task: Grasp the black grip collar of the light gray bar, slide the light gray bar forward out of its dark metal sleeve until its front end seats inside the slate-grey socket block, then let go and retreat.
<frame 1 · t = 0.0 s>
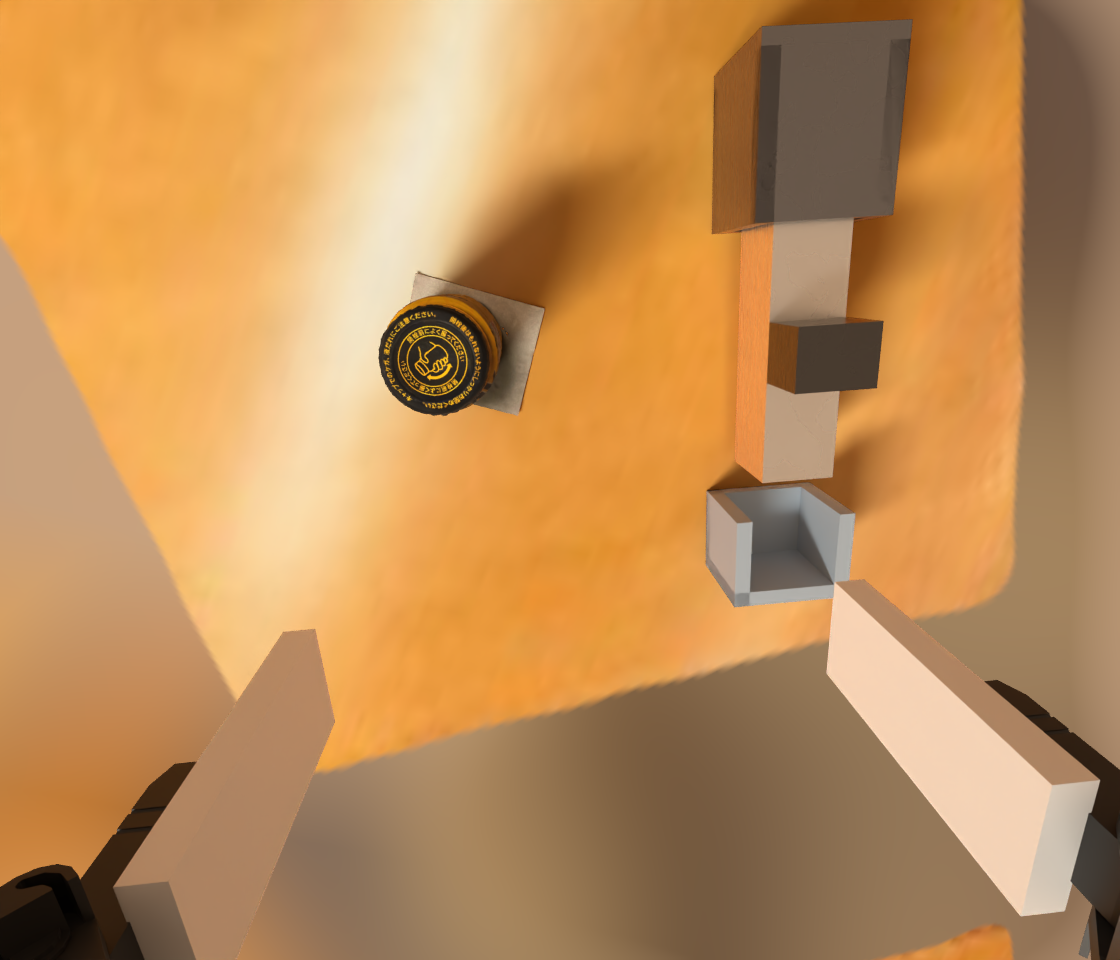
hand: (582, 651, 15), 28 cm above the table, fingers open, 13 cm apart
yellow drink bottle: (469, 346, 40), on the table
socket: (756, 524, 46), on the table
sleeve: (772, 161, 38), on the table
light gray bar: (804, 296, 35), point 6 cm above the table, slide at 0.0 cm
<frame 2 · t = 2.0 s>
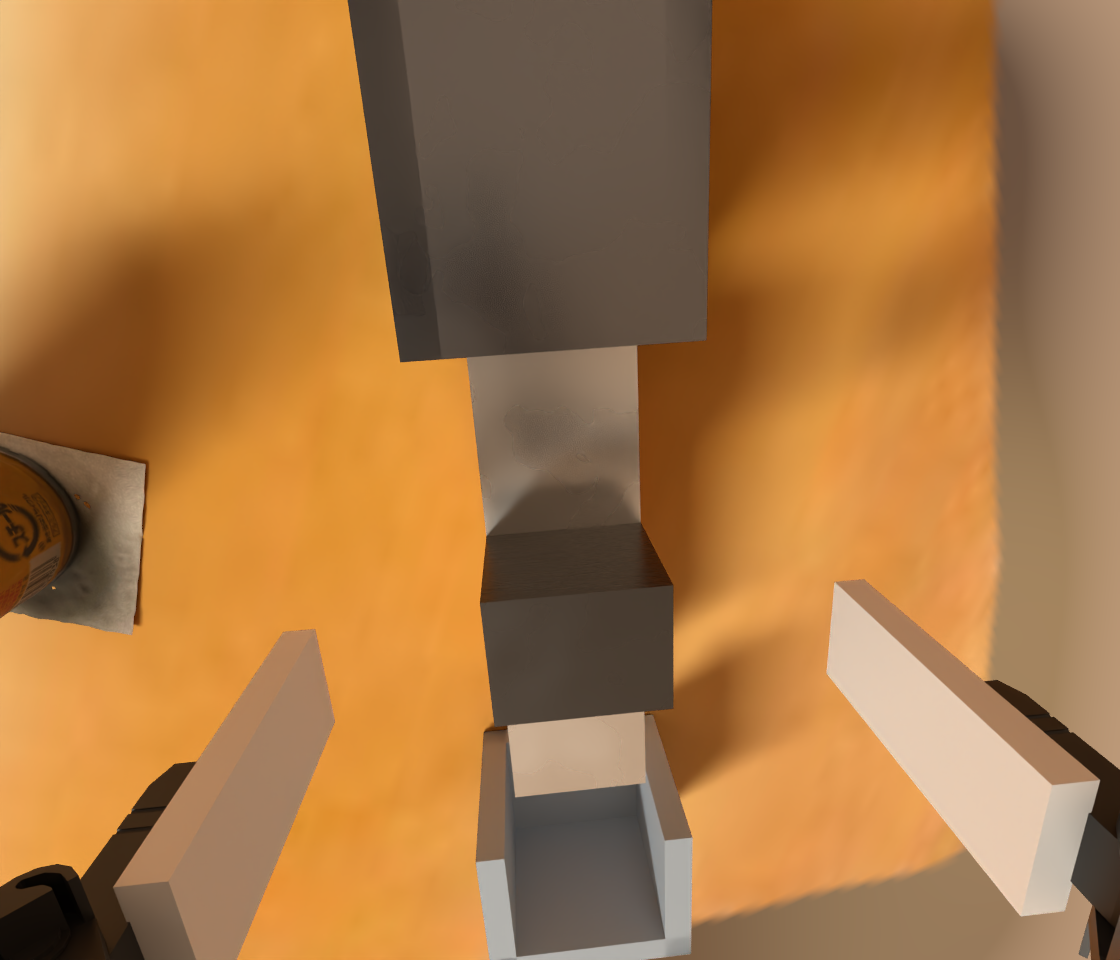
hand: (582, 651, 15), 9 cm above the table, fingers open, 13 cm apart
yellow drink bottle: (26, 524, 23), on the table
socket: (572, 775, 28), on the table
sleeve: (533, 205, 20), on the table
light gray bar: (559, 481, 18), point 6 cm above the table, slide at 0.0 cm
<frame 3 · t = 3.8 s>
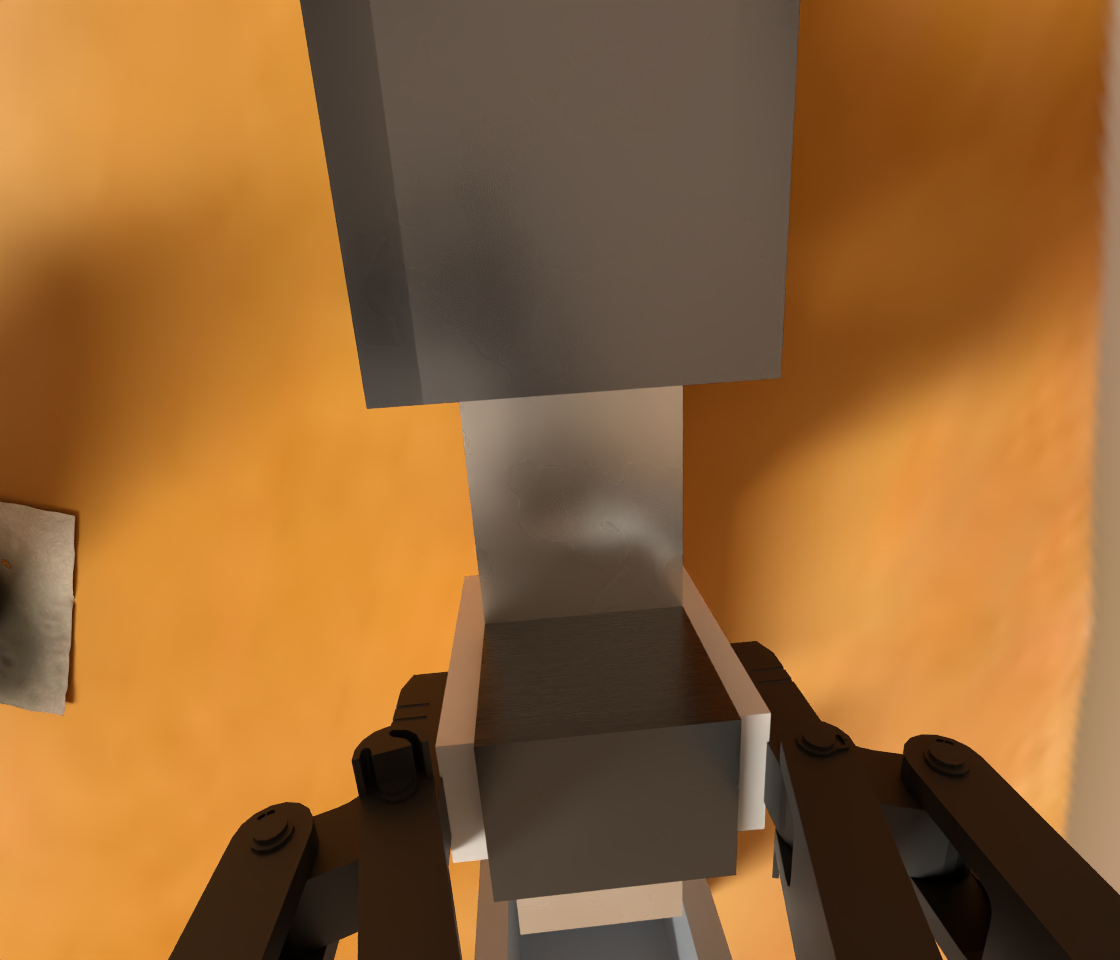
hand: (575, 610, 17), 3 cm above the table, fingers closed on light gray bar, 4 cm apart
socket: (586, 868, 24), on the table
sleeve: (543, 203, 17), on the table
light gray bar: (578, 553, 14), point 6 cm above the table, slide at 0.0 cm, touching gripper
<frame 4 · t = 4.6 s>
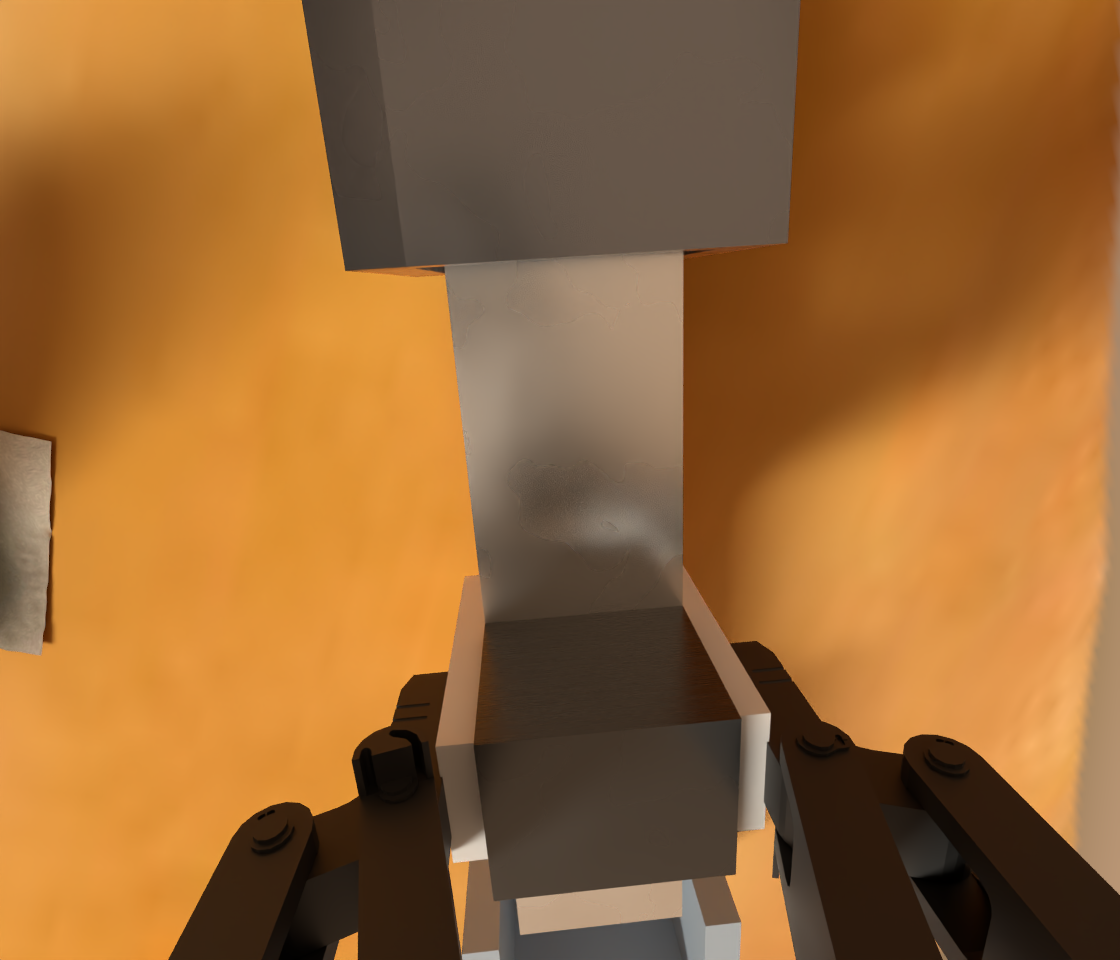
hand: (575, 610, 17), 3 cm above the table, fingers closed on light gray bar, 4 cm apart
socket: (583, 825, 24), on the table
sleeve: (538, 108, 16), on the table
light gray bar: (579, 552, 14), point 6 cm above the table, slide at 2.3 cm, touching gripper
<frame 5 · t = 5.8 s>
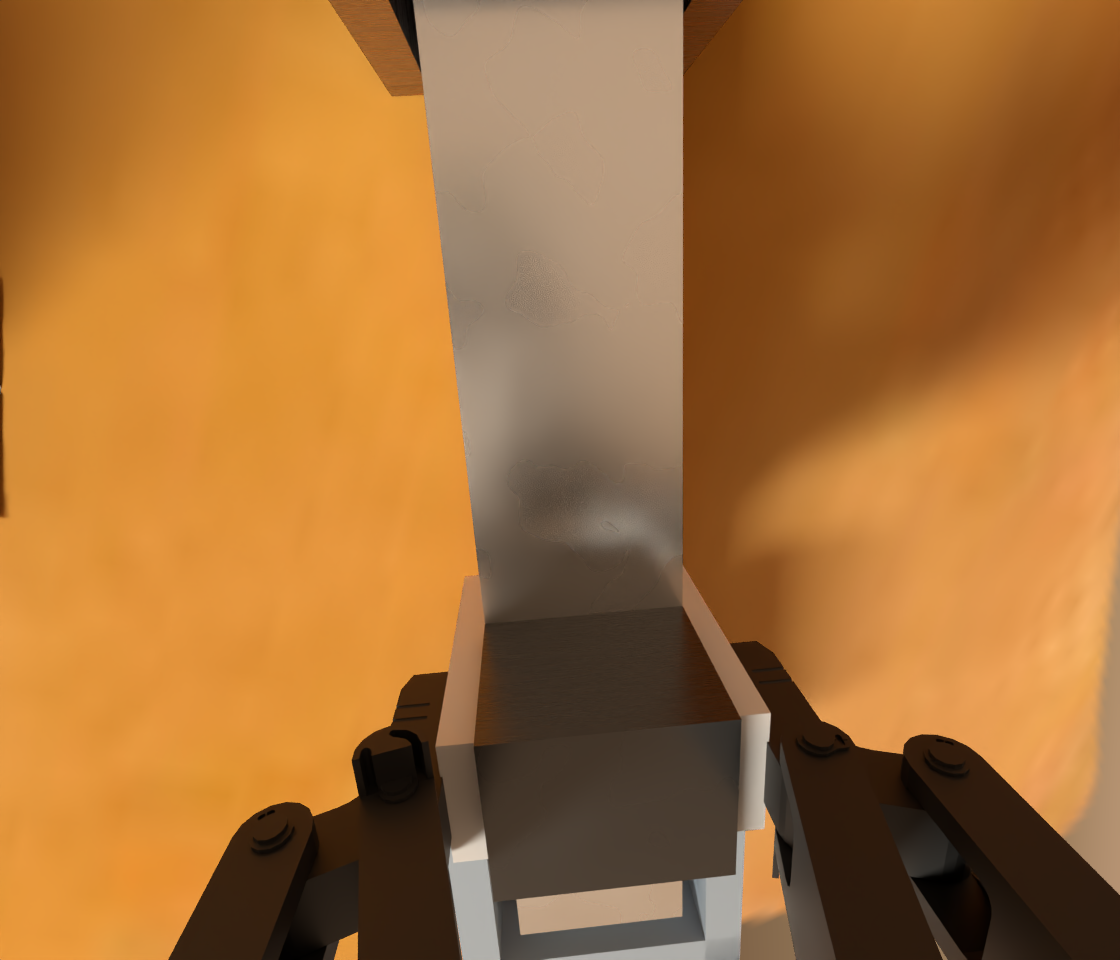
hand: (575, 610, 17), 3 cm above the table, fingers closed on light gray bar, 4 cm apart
socket: (577, 731, 22), on the table
light gray bar: (578, 553, 14), point 6 cm above the table, slide at 6.8 cm, touching gripper
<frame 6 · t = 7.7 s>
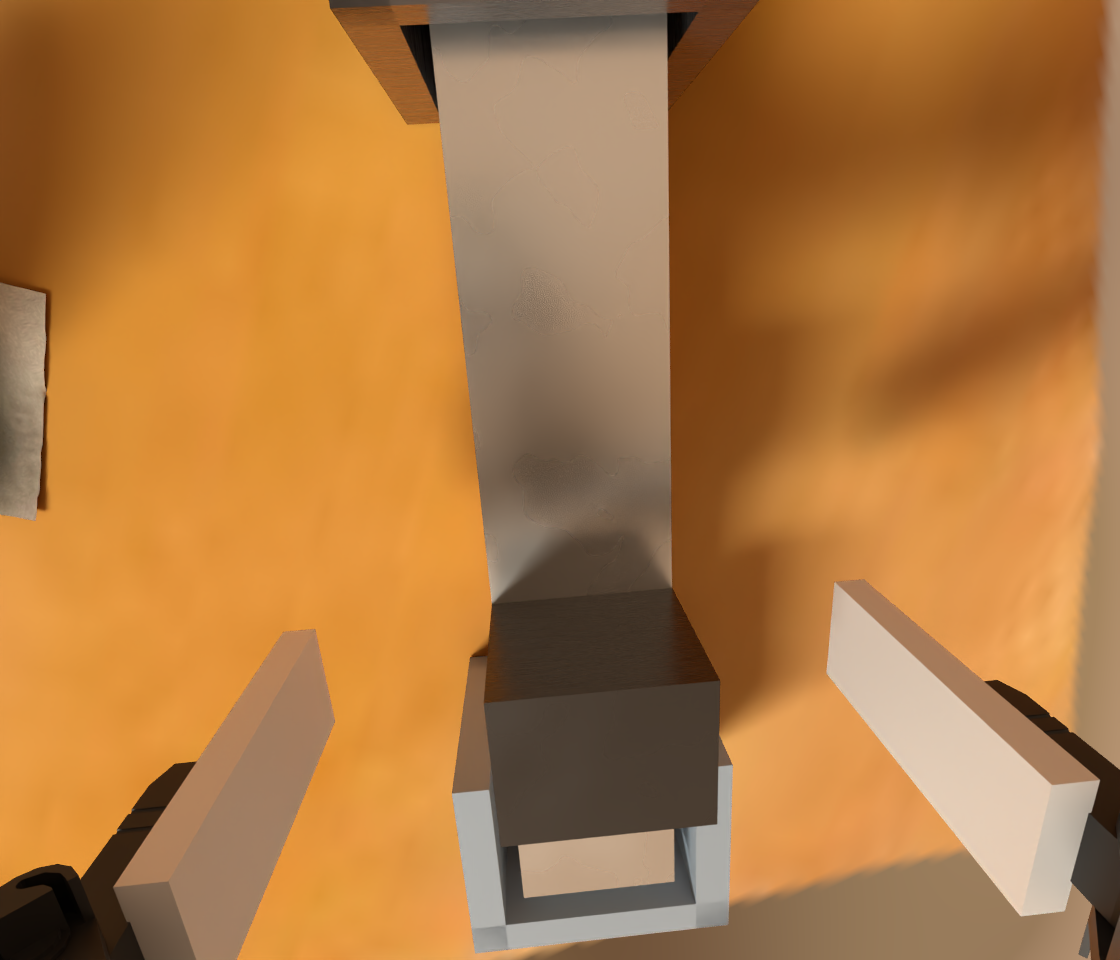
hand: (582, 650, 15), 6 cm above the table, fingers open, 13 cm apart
socket: (577, 715, 24), on the table
light gray bar: (577, 540, 15), point 6 cm above the table, slide at 6.8 cm
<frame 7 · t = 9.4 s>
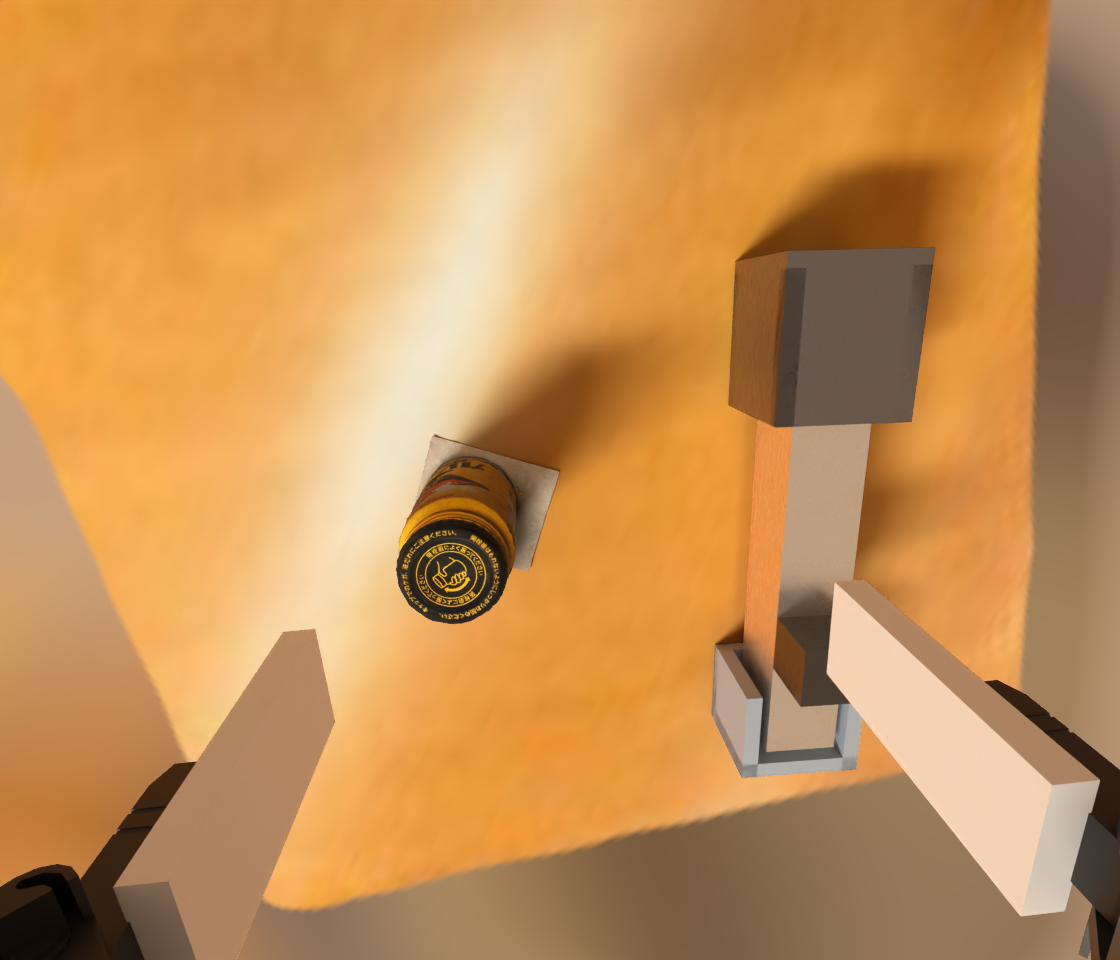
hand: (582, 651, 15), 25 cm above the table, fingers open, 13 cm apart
yellow drink bottle: (482, 504, 40), on the table
socket: (764, 676, 45), on the table
sleeve: (789, 340, 38), on the table
light gray bar: (810, 592, 37), point 6 cm above the table, slide at 6.8 cm
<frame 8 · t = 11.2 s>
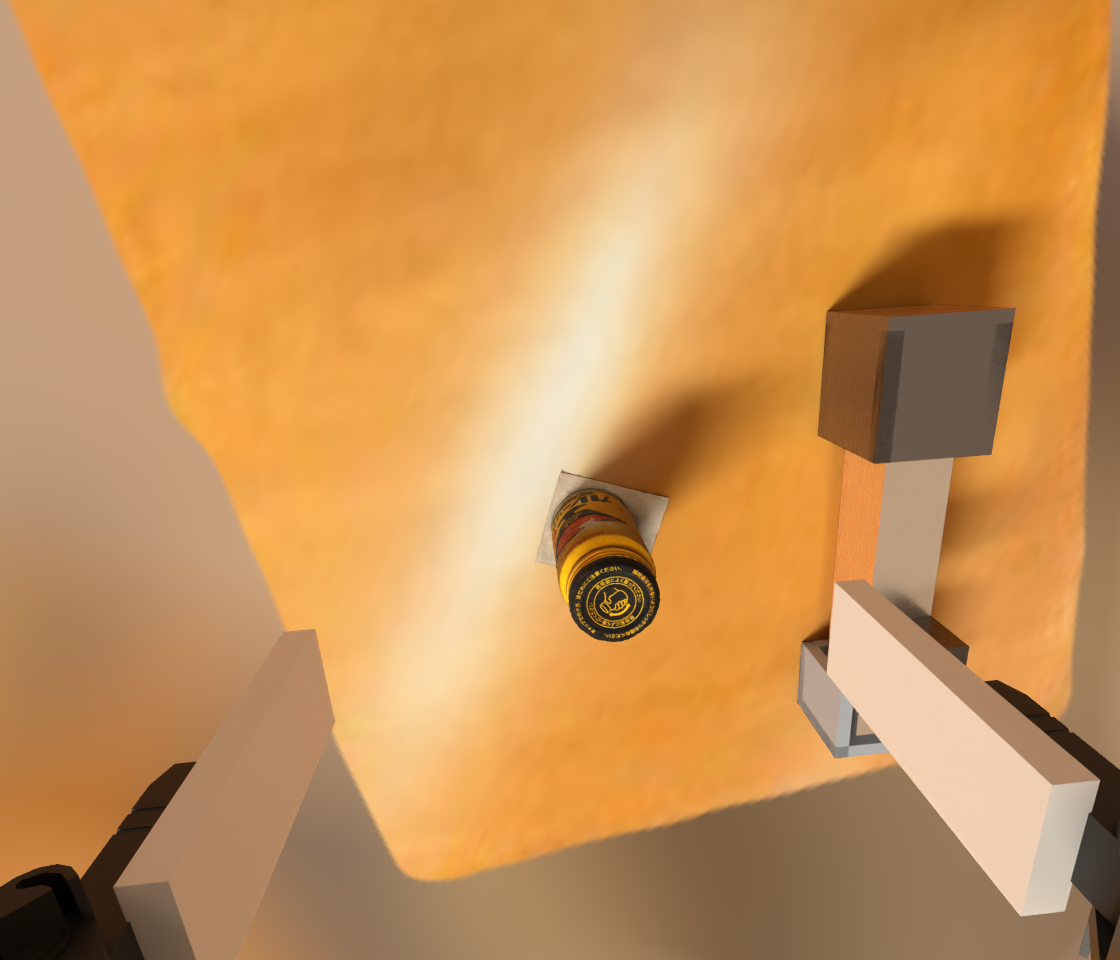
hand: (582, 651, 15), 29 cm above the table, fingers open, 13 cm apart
yellow drink bottle: (601, 528, 46), on the table
socket: (844, 668, 51), on the table
sleeve: (872, 377, 43), on the table
light gray bar: (896, 598, 43), point 6 cm above the table, slide at 6.8 cm
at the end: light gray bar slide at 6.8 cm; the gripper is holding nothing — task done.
